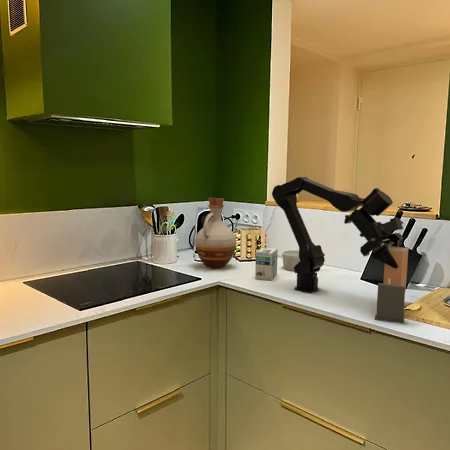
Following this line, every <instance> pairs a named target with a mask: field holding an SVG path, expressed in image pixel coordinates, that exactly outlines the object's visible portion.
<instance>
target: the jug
mask: <svg viewBox="0 0 450 450" xmlns="http://www.w3.org/2000/svg"><path fill="white" fill-rule="evenodd" d="M224 201H225V198H221V197H220V198H219V197H208V202H209V204H208V208H209V212H210V213H208V214H207V216H206V217H205V219H204V223H203V227H202V228H201V229H200V230H199V231H198V232H197V233H196V235H195V240H194V245H195V249H196V253H197V256H198V258H199V259H200V261H201V262H202V264H203V265H204V267H206V268H207V269H210V270H211V269H212V270H217V269H218V270H219V269H221V270H222V269H224V268H225V267H227V265H228V264H229V263H230V261H231V260H232V259H233V256H234V254H235V251H236V247H237V237H236V235H235V233H234V232H233V231H232V229H230V228H229V227H228V226H227V225H226V224H225V223H224V221H223V220H222V219H223V218H222V215H223V214H222V213H223V208H224V206H225V204H224Z"/></svg>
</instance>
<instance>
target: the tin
mask: <svg viewBox="0 0 450 450" xmlns="http://www.w3.org/2000/svg"><path fill="white" fill-rule="evenodd" d="M388 250H389V252H390V254H391V255H392V257H393V258H394V260H395V261H396V263H397V265H398V268H396V269H395V268H393V267H391V266H389V265H387V264H385V263H384V267H383V268H384V269H383V284H392V285H402V286H405V292H406V289H407V287H406V286H407V274H408V263H409V262H408V260H409V259H408V258H409V250H410V248H408V247H402V246H399V247H394V246H390V247H389V248H388Z"/></svg>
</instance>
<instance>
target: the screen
mask: <svg viewBox="0 0 450 450" xmlns="http://www.w3.org/2000/svg"><path fill="white" fill-rule="evenodd" d="M405 294H406V291H405V286H402V285H392V284H383V283H380V282H378V283H377V295H376V296H377V297H376V311H375V316H374V320H375V321H382V322H387V323H396V324H402V325H403V324H405V318H404V314H405V312H404V311H405V309H404V302H405V301H406V300H405V296H406V295H405Z"/></svg>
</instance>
